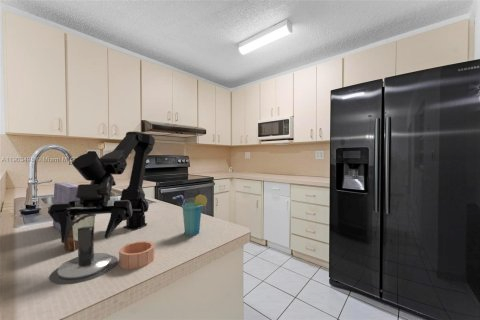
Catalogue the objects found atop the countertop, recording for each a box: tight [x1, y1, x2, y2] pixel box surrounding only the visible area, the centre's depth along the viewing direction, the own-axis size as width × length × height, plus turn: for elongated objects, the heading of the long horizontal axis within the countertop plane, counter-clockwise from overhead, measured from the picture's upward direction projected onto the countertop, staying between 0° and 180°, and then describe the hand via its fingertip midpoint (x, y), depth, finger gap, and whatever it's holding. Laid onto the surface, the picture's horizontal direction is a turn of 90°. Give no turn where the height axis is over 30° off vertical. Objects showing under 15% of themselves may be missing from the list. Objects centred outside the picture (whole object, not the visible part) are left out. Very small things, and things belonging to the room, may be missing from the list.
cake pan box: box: [52, 181, 83, 232], centre depth 82 cm, size 19×5×18 cm, turn 54°
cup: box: [171, 194, 208, 236], centre depth 79 cm, size 14×8×15 cm, turn 136°
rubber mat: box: [48, 254, 119, 285], centre depth 54 cm, size 14×14×1 cm
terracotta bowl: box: [118, 240, 156, 270], centre depth 58 cm, size 8×8×4 cm
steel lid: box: [57, 226, 112, 280], centre depth 54 cm, size 11×11×10 cm
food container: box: [59, 214, 97, 252], centre depth 68 cm, size 12×6×10 cm, turn 5°
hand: (85, 240), depth 53 cm, fingers open, 9 cm apart
